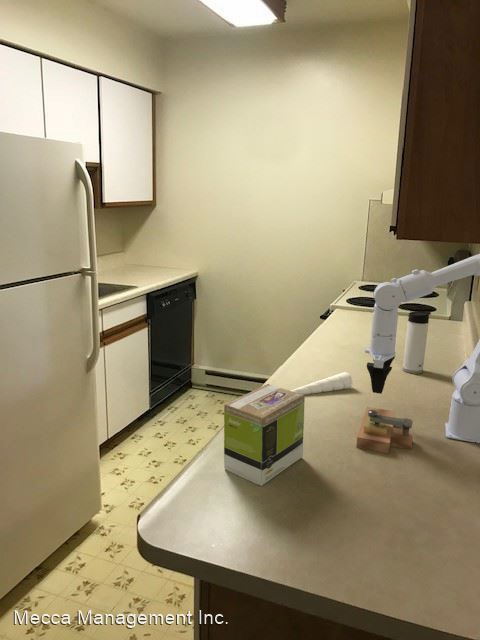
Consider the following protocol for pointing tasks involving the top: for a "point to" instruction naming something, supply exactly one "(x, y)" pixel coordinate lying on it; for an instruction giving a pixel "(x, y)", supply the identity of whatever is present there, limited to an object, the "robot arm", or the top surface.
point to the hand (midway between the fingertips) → (378, 387)
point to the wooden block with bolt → (375, 427)
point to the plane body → (383, 443)
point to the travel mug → (416, 342)
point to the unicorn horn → (327, 384)
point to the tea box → (263, 433)
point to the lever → (389, 420)
